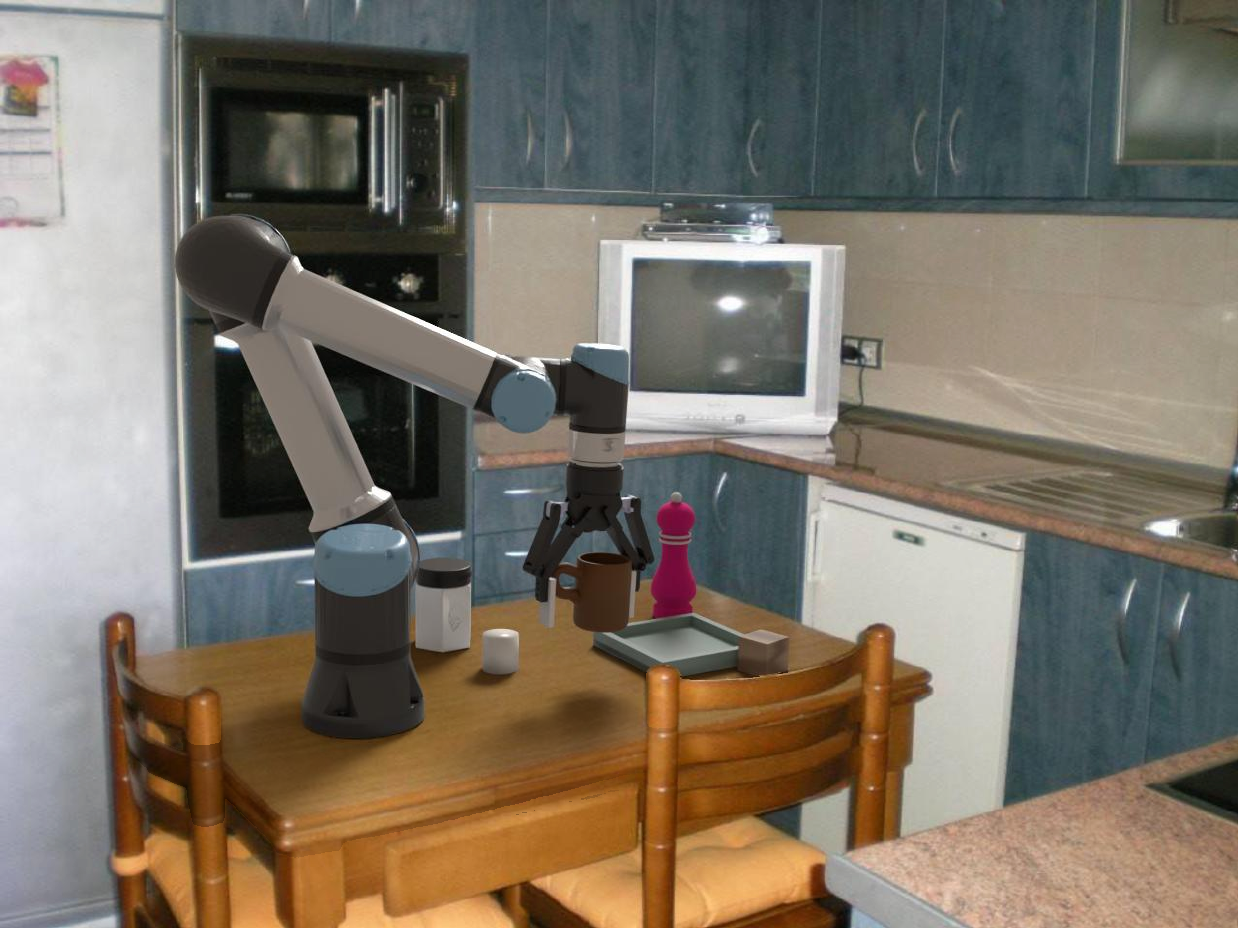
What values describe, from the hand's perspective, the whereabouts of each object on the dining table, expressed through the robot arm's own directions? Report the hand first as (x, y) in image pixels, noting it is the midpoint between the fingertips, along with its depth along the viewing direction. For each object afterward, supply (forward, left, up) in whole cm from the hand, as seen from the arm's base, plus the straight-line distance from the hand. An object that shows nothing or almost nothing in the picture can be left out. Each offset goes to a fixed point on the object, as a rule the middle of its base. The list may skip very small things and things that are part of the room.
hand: (586, 619), depth 194 cm
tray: (+19, +5, -9) cm, 21 cm away
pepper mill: (+29, +21, -9) cm, 36 cm away
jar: (-9, +25, -9) cm, 28 cm away
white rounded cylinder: (-7, +11, -9) cm, 16 cm away
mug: (0, 0, -1) cm, 1 cm away
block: (+25, -7, -9) cm, 27 cm away
